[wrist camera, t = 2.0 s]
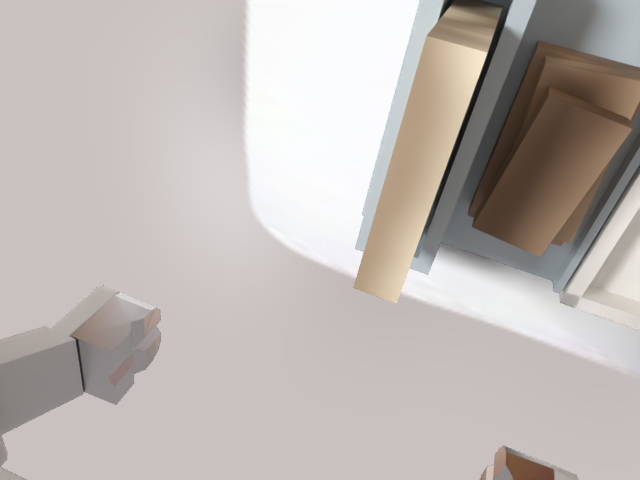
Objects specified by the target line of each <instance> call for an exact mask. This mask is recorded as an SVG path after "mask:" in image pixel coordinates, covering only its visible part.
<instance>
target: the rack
mask: <svg viewBox="0 0 640 480" xmlns="http://www.w3.org/2000/svg"><path fill="white" fill-rule="evenodd" d="M454 1H455V0H420V2H419V5H418V9H417V13H416V17H415V20H414V24H413V28H412V31H411V35H410V39H409V42H408V46H407V50H406V53H405V57H404V61H403V64H402V68H401V72H400V76H399V79H398V83H397V87H396V90H395V94H394V98H393V101H392V105H391V109H390V112H389V116H388V120H387V123H386V127H385V131H384V135H383V138H382V142H381V146H380V149H379V153H378V157H377V160H376V164H375V168H374V171H373V175H372V179H371V183H370V186H369V190H368V194H367V197H366V201H365V205H364V208H363V212H362V215H363V216H364V218H363V222H362V225H361V229H360V232H359V236H358V240H357V243H356V247H355V249H357V250H360V251H363V252H364V250H365V246H366V243H367V240H368V236H369V233H370V229H371V226H372V222H373V219H374V215H375V212H376V208H377V205H378V201H379V198H380V195H381V191H382V188H383V184H384V181H385V177H386V174H387V170H388V167H389V163H390V160H391V156H392V153H393V150H394V146H395V143H396V139H397V136H398V132H399V129H400V125H401V122H402V118H403V115H404V111H405V108H406V105H407V101H408V98H409V94H410V91H411V87H412V84H413V80H414V77H415V73H416V70H417V66H418V63H419V60H420V56H421V53H422V49H423V46H424V42H425V39H426V36H427V34H428V33H429V32H430V31H431V29H432V28H433V27H434V26H435V25H436V23H437V22H438V21H439V20H440V18H441V17H442V16H443V15H444V13H445V12H446V11H447V10H448V9H449V7H450V6H451V5H452V4H453V2H454ZM482 1H486V2H490V3H494V4H498V5H502V6H503V7H502V10H501V13H500V17H499V20H498V23H497V26H496V29H495V32H494V35H493V38H492V41H491V44H490V47H489V50H488V53H487V56H486V59H485V62H484V64H483V67H482V70H481V73H480V75H479V78H478V81H477V84H476V86H475V89H474V92H473V94H472V97H471V100H470V103H469V105H468V108H467V111H466V114H465V116H464V119H463V122H462V125H461V127H460V130H459V133H458V136H457V138H456V141H455V144H454V147H453V149H452V152H451V155H450V158H449V160H448V163H447V166H446V169H445V171H444V174H443V177H442V180H441V182H440V185H439V188H438V191H437V193H436V196H435V199H434V202H433V204H432V207H431V210H430V213H429V215H428V218H427V221H426V224H425V226H424V229H423V232H422V235H421V237H420V240H419V243H418V246H417V248H416V251H415V254H414V257H413V259H412V262H411V265H410V269H413V270H416V271H419V272H421V273H424V274H427V275H428V273H429V271H430V268H431V266H432V263H433V261H434V258H435V256H436V253H437V251H438V248H439V246H440V243H441V242H442V243H444V244H447V245H450V246H453V247H456V248H459V249H462V250H465V251H468V252H471V253H473V254H476V255H479V256H482V257H485V258H488V259H491V260H494V261H497V262H500V263H503V264H505V265H508V266H511V267H514V268H517V269H520V270H523V271H526V272H529V273H532V274H534V275H537V276H540V277H543V278H546V279H549V280H552V281H553V291H554V292H557V293H561V292H562V290H563V289H564V287H565V285H566V284H567V282H568V280H569V279H570V277H571V276H572V274H573V272H574V271H575V269H576V267H577V266H578V264H579V262H580V261H581V259H582V258H583V256H584V254H585V253H586V251H587V249H588V248H589V246H590V245H591V243H592V241H593V240H594V238H595V236H596V235H597V233H598V232H599V230H600V228H601V227H602V225H603V223H604V222H605V220H606V218H607V217H608V215H609V214H610V212H611V210H612V209H613V207H614V205H615V204H616V202H617V201H618V199H619V197H620V196H621V194H622V192H623V191H624V189H625V188H626V186H627V184H628V183H629V181H630V179H631V178H632V176H633V175H634V173H635V171H636V170H637V168H638V166H639V165H640V110H639V112H638V113H637V115H636V117H635V118H634V120H633V122H632V124H631V127H632V131H631V132H630V133H629V135H628V136H627V138H626V139H625V140H624V142H623V143H622V144H621V146H620V147H619V149H618V150H617V151H616V153H615V154H614V156H613V158H612V160H611V162H610V164H609V166H608V168H607V170H606V172H605V174H604V176H603V178H602V180H601V182H600V185H599V187H598V189H597V191H596V193H595V195H594V197H593V199H592V201H591V203H590V205H589V207H588V210H587V212H586V214H585V216H584V218H583V220H582V222H581V224H580V226H579V228H578V230H577V232H576V234H575V237H574V239H573V241H572V243H571V244H570V243H567V242H563V244H562V246H558V245H555V244H552V243H550V244H549V246H548V247H547V248H546V250H545V251H544V253H543V254H542V255H541V257H539V256H536V255H534V254H532V253H529V252H527V251H525V250H523V249H520V248H518V247H516V246H514V245H511V244H509V243H507V242H504V241H502V240H500V239H498V238H495V237H493V236H491V235H488V234H486V233H484V232H482V231H479V230H477V229H475V228H472V224H473V219H474V217H471V216H468V211H469V206H470V203H471V200H472V198H473V196H474V193H475V191H476V188H477V186H478V184H479V181H480V179H481V176H482V174H483V172H484V169H485V167H486V164H487V162H488V160H489V157H490V155H491V152H492V150H493V147H494V145H495V143H496V140H497V138H498V135H499V133H500V131H501V128H502V126H503V123H504V121H505V119H506V116H507V114H508V111H509V109H510V107H511V104H512V102H513V99H514V97H515V94H516V92H517V90H518V87H519V85H520V82H521V80H522V78H523V75H524V73H525V70H526V68H527V66H528V63H529V61H530V58H531V56H532V54H533V51H534V49H535V46H536V44H537V41H538V40H539V41H543V42H546V43H550V44H554V45H558V46H561V47H565V48H569V49H573V50H576V51H580V52H584V53H588V54H591V55H595V56H599V57H602V58H606V59H610V60H614V61H617V62H621V63H625V64H629V65H632V66H636V67H640V0H482Z"/></svg>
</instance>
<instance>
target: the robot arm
mask: <svg viewBox="0 0 640 480" xmlns="http://www.w3.org/2000/svg"><path fill="white" fill-rule="evenodd" d="M160 320H161V315H160V310H159V309H157V308H155V307H153V306H151V305H148V304H146V303H144V302H142V301H139V300H137V299H134V298H132V297H130V296H128V295H125V294H123V293H120V292H118V291H115V290H113V289H111V288H108V287H106V286H104V285H103V286H100V287H97V288H95V289H94V290H93V291H92V292H90V293H89V294H88V295H87V296H86V297H85V298H84V299H83V300H82V301H80V302H79V303H78V304H77V305H76V306H75V307H73V308H72V309H71V310H70V311H69V312H68V313H67V314H66V315H65V316H63V317H62V318H61V319H60V320H59V321H58V322H57V323H55V324H54V325H53V326H52V327H51V328H49V327H46V326H43V327H40V328H37V329H34V330H30V331H27V332H24V333H20V334H17V335H14V336H11V337H8V338H4V339H1V340H0V480H27V479H24V478H22V477H20V476H18V475H16V474H14V473H12V472H10V471H8V470H6V469H4V468H2V467H1V466H2V464H3V463H4V462H5V461H6V460H7V451H6V447H5V444H4V441H3V438H2V434H4V433H6V432H8V431H10V430H12V429H14V428H16V427H18V426H20V425H22V424H24V423H26V422H28V421H30V420H32V419H34V418H36V417H38V416H40V415H43V414H44V413H46V412H48V411H50V410H53V409H55V408H56V407H58V406H61V405H63V404H64V403H67V402H69V401H70V400H73V399H74V398H77V397H79V396H81V395H82V394H84V392H86V393H89V394H91V395H93V396H96V397H98V398H100V399H103V400H106V401H108V402H111V403H113V404H115V405H117V403H118V402H119V401H120V400H121V398H122V397H123V396H124V395H125V394H126V393H127V391H128V390H129V389H130V388H131V387H132V385H133V384H134V374H135V373H138V372H140V371H143V370H145V369H146V368H147V367H148V366H149V364H150V363H151V362H152V361H153V359H154V357H155V355H156V353H157V351H158V349H159V345H160V342H161V332H160V331H159V329H158V328H157V326H156V325H157V324H158V322H159V321H160ZM480 480H579V479H578V477H577V475H576V474H573V473H571V472H568V471H566V470H563V469H561V468H558V467H556V466H553V465H550V464H549V463H547V462H544V461H542V460H539V459H537V458H534V457H532V456H529V455H526V454H524V453H521V452H519V451H516V450H513V449H511V448H508V447H505V446H502V447H500V448H499V449H498V451H497V452H496V454H495V460H494V464H493V465H489V466H487V467H486V469H485V470H484V472H483V474H482V475H481V478H480Z"/></svg>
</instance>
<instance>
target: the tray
mask: <svg viewBox="0 0 640 480" xmlns="http://www.w3.org/2000/svg"><path fill="white" fill-rule="evenodd" d="M559 294H560V303H563V304H566V305H568V306H571V307H574V308H577V309H580V310H583V311H585V312H588V313H591V314H594V315H597V316H600V317H603V318H605V319H608V320H611V321H614V322H617V323H620V324H623V325H625V326H628V327H631V328H634V329H637V330H640V165H639V166H638V168H637V170H636V171H635V173H634V175H633V176H632V178H631V179H630V181H629V183H628V184H627V186H626V188H625V189H624V191H623V192H622V194H621V196H620V197H619V199H618V201H617V202H616V204H615V205H614V207H613V209H612V210H611V212H610V214H609V215H608V217H607V218H606V220H605V222H604V223H603V225H602V227H601V228H600V230H599V232H598V233H597V235H596V236H595V238H594V240H593V241H592V243H591V245H590V246H589V248H588V249H587V251H586V253H585V254H584V256H583V258H582V259H581V261H580V262H579V264H578V266H577V267H576V269H575V271H574V272H573V274H572V276H571V277H570V279H569V280H568V282H567V284H566V285H565V287H564V289H563V290H562V292H561V293H559Z"/></svg>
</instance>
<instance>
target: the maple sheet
mask: <svg viewBox="0 0 640 480" xmlns="http://www.w3.org/2000/svg"><path fill="white" fill-rule="evenodd" d="M502 7H503V6H502V5H498V4H494V3H490V2H486V1H482V0H455V1H454V2H453V4H452V5H451V6H450V7H449V9H448V10H447V11H446V12H445V13H444V15H443V16H442V17H441V18H440V20H439V21H438V22H437V23H436V25H435V26H434V27H433V28H432V29H431V31H430V32H429V33H428V34H427V36H426V39H425V42H424V46H423V49H422V53H421V56H420V60H419V63H418V66H417V70H416V73H415V77H414V80H413V84H412V87H411V91H410V94H409V98H408V101H407V105H406V108H405V111H404V115H403V118H402V122H401V125H400V129H399V132H398V136H397V139H396V143H395V146H394V150H393V153H392V156H391V160H390V163H389V167H388V170H387V174H386V177H385V181H384V184H383V188H382V191H381V195H380V198H379V201H378V205H377V208H376V212H375V215H374V219H373V222H372V226H371V229H370V233H369V236H368V240H367V243H366V246H365V250H364V253H363V257H362V260H361V264H360V267H359V271H358V274H357V278H356V281H355V285H354V288H356V289H358V290H361V291H364V292H366V293H369V294H372V295H374V296H377V297H380V298H382V299H385V300H388V301H391V302H393V303H397V301H398V298H399V295H400V292H401V290H402V287H403V284H404V281H405V279H406V276H407V273H408V270H409V268H410V265H411V262H412V259H413V257H414V254H415V251H416V248H417V246H418V243H419V240H420V237H421V235H422V232H423V229H424V226H425V224H426V221H427V218H428V215H429V213H430V210H431V207H432V204H433V202H434V199H435V196H436V193H437V191H438V188H439V185H440V182H441V180H442V177H443V174H444V171H445V169H446V166H447V163H448V160H449V158H450V155H451V152H452V149H453V147H454V144H455V141H456V138H457V136H458V133H459V130H460V127H461V125H462V122H463V119H464V116H465V114H466V111H467V108H468V105H469V103H470V100H471V97H472V94H473V92H474V89H475V86H476V84H477V81H478V78H479V75H480V73H481V70H482V67H483V64H484V62H485V59H486V56H487V53H488V50H489V47H490V44H491V41H492V38H493V35H494V32H495V29H496V26H497V23H498V20H499V17H500V13H501V10H502Z"/></svg>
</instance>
